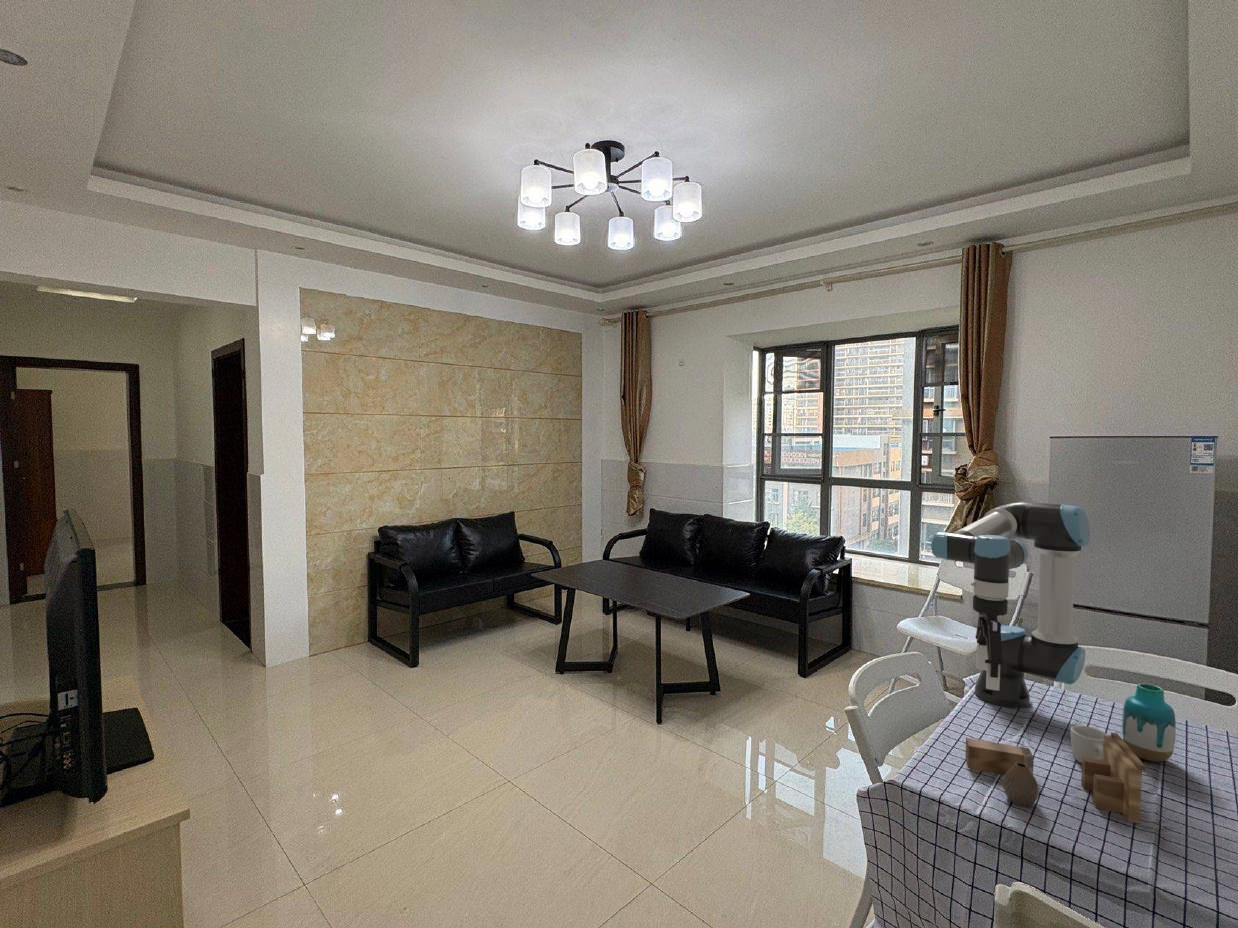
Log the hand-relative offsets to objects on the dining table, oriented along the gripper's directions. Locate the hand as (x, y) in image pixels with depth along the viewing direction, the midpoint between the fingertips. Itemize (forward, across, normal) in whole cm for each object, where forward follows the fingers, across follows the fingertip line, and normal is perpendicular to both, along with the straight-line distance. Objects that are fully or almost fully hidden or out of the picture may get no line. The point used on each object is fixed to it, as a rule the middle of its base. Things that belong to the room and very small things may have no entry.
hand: (987, 679), depth 154 cm
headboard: (+23, +5, +25) cm, 34 cm away
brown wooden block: (+23, 0, +3) cm, 23 cm away
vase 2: (+23, -22, +41) cm, 52 cm away
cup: (+23, -12, +26) cm, 37 cm away
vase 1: (+24, +13, +5) cm, 27 cm away
